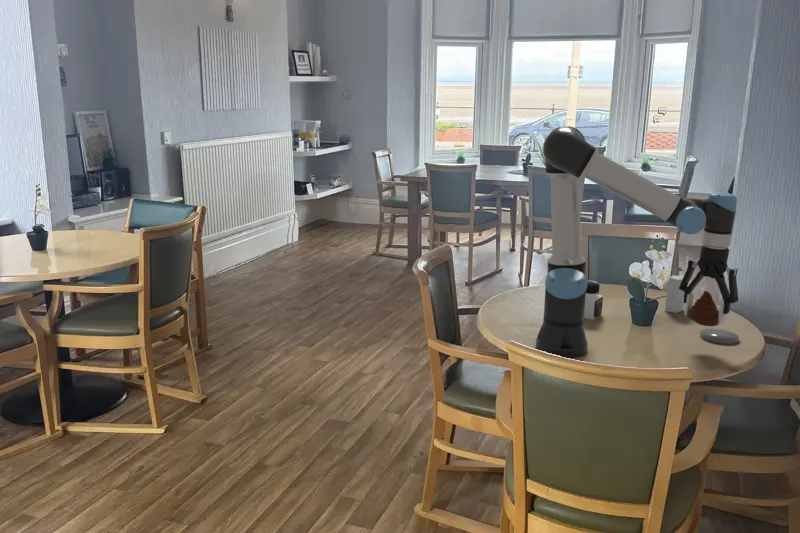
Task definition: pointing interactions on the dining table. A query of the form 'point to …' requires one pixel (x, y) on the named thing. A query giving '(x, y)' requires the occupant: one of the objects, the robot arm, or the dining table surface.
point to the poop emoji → (705, 311)
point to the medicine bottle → (593, 301)
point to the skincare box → (674, 295)
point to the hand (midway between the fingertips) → (703, 318)
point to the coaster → (719, 336)
